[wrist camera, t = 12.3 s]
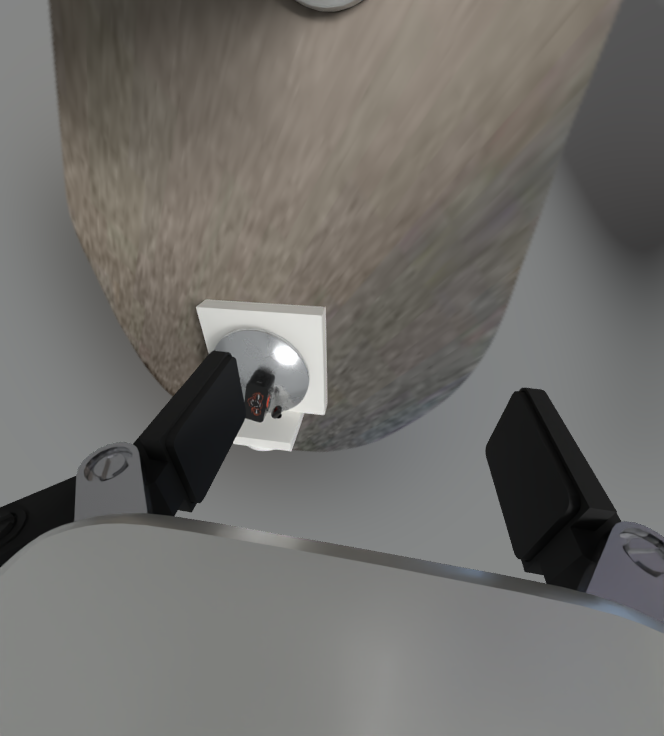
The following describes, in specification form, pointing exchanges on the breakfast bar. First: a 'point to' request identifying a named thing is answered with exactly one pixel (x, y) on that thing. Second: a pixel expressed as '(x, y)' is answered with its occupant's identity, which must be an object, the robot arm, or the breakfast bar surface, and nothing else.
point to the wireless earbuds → (260, 396)
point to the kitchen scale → (273, 361)
